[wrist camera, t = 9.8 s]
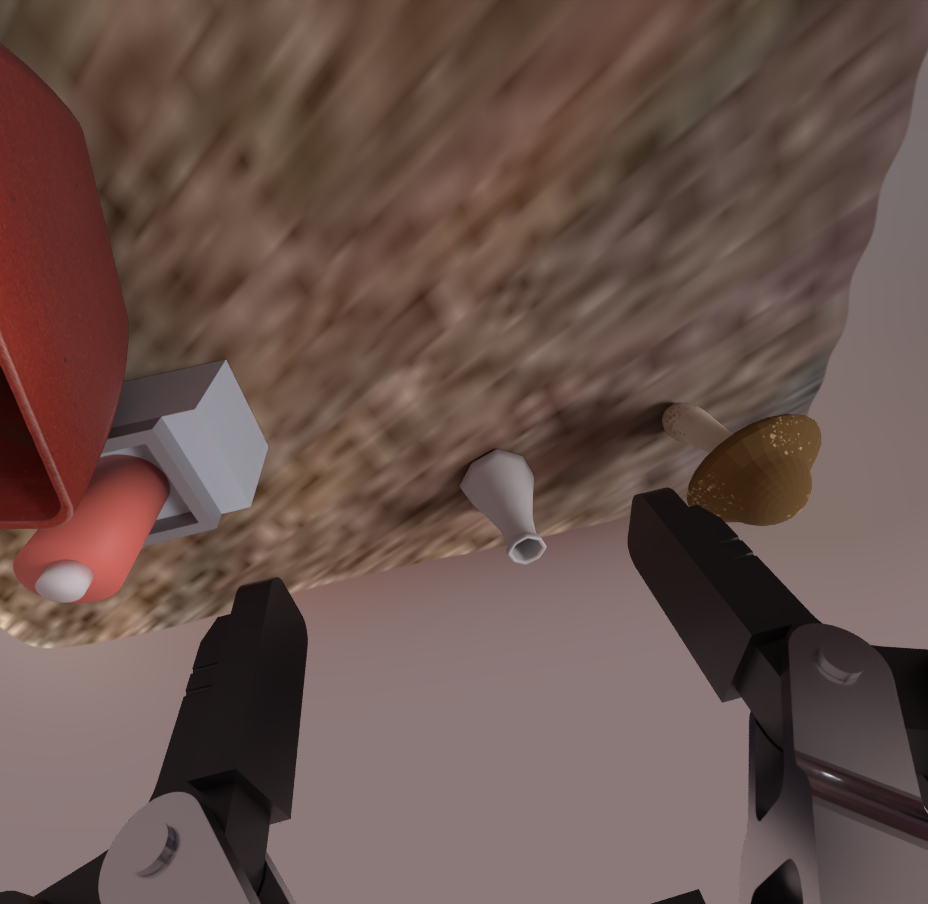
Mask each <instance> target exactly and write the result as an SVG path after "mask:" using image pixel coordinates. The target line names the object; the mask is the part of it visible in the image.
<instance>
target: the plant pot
mask: <svg viewBox="0 0 928 904" xmlns="http://www.w3.org/2000/svg"><path fill="white" fill-rule="evenodd" d="M128 336H129V321H128V316H127V312H126V308H125V304H124V300H123V296H122V291H121V287H120V283H119V279H118V275H117V270H116V266H115V262H114V258H113V254H112V250H111V246H110V242H109V238H108V233H107V229H106V225H105V221H104V217H103V213H102V208H101V204H100V200H99V196H98V192H97V188H96V184H95V180H94V176H93V172H92V168H91V164H90V160H89V155H88V151H87V146H86V142H85V138H84V133H83V131H82V128H81V126H80V124H79V122H78V121H77V119H76V118H75V117H74V115H73V114H72V112H71V111H70V110H69V109H68V107H67V106H66V105H65V104H64V103H63V102H62V100H61V99H60V98H59V97H58V96H57V95H56V94H55V92H54V91H53V90H52V89H51V88H50V87H49V86H48V85H47V84H46V83H45V82H44V81H43V80H42V79H41V78H40V77H39V76H38V75H37V74H36V73H35V72H34V71H33V70H32V69H30V68H29V67H28V66H27V65H26V64H25V63H24V62H23V61H21V60H20V59H19V58H18V57H17V56H16V55H14V54H13V53H12V52H11V51H10V50H9V49H7V48H6V47H5V46H4V45H2V44H1V43H0V529H45V528H55V527H59V526H62V525H64V524H66V523H67V522H68V521H70V519H71V518H72V516H73V514H74V513H75V511H76V509H77V507H78V505H79V503H80V501H81V499H82V497H83V495H84V493H85V491H86V489H87V487H88V485H89V482H90V480H91V478H92V475H93V473H94V471H95V469H96V466H97V464H98V461H99V459H100V456H101V454H102V451H103V449H104V446H105V444H106V441H107V438H108V436H109V433H110V430H111V427H112V424H113V420H114V417H115V414H116V410H117V406H118V403H119V399H120V395H121V390H122V385H123V380H124V374H125V367H126V361H127V351H128Z"/></svg>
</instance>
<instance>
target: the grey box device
mask: <svg viewBox="0 0 928 904" xmlns="http://www.w3.org/2000/svg"><path fill="white" fill-rule="evenodd" d="M267 450H268V445H267V443H266V441H265V439H264V437H263V435H262V432H261V430H260V428H259V426H258V424H257V422H256V420H255V418H254V416H253V414H252V412H251V410H250V408H249V406H248V404H247V402H246V400H245V398H244V395H243V393H242V391H241V389H240V387H239V385H238V383H237V381H236V379H235V377H234V375H233V373H232V371H231V369H230V367H229V365H228V363H227V361H226V360H222V361H217V362H212V363H208V364H203V365H199V366H194V367H189V368H185V369H180V370H176V371H171V372H166V373H162V374H157V375H153V376H148V377H143V378H139V379H134V380H130V381H125V382H123V385H122V390H121V395H120V399H119V403H118V406H117V410H116V414H115V417H114V420H113V424H112V427H111V430H110V433H109V436H108V438H107V441H106V444H105V446H104V449H103V451H102V454H101V456H100V458H102V457H105V456H109V455H117V454H120V455H131V456H135V457H139V458H142V459H144V460H147V461H149V462H151V463H152V464H154V465H155V466H157V467H158V468H159V469H160V470H161V471H162V472H163V473H164V474H165V475H166V477H167V479H168V481H169V484H170V493H169V496H168V498H167V500H166V502H165V504H164V506H163V508H162V510H161V512H160V514H159V516H158V517H157V519H156V521H155V523H154V525H153V527H152V529H151V531H150V533H149V535H148V537H147V539H146V540H145V542H144V544H143V546H147V545H151V544H155V543H159V542H163V541H167V540H171V539H175V538H180V537H184V536H188V535H192V534H196V533H200V532H204V531H208V530H212V529H216V528H217V526H218V523H219V521H220V518H221V515H222V514H224V513H228V512H232V511H236V510H240V509H244V508H248V507H251V504H252V501H253V497H254V494H255V490H256V487H257V484H258V480H259V477H260V473H261V470H262V467H263V463H264V460H265V456H266V453H267ZM143 546H142V547H143Z"/></svg>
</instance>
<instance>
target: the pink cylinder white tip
mask: <svg viewBox="0 0 928 904" xmlns="http://www.w3.org/2000/svg"><path fill="white" fill-rule="evenodd" d="M169 493H170V484H169V481H168V479H167V477H166V475H165V474H164V473H163V472H162V471H161V470H160V469H159V468H158V467H157V466H155V465H154V464H152V463H151V462H149V461H147V460H144V459H142V458H139V457H135V456H131V455H120V454H117V455H109V456H105V457H102V458H100V459H99V461H98V464H97V466H96V469H95V471H94V473H93V475H92V478H91V480H90V482H89V485H88V487H87V489H86V491H85V493H84V495H83V497H82V499H81V501H80V503H79V505H78V507H77V509H76V511H75V513H74V514H73V516H72V518H71V519H70V521H68V522H67V523H66V524H64V525H62V526H59V527H55V528H45V529H38V530H37V531H36V533H35V534H34V535H33V536H32V538H31V539H30V540H29V541H28V542H27V544H26V545H25V546H24V547H23V549H22V550H21V551H20V552H19V553H18V555H17V556H16V558H15V560H14V564H13V568H14V572H15V575H16V577H17V578H18V580H19V581H20V582H21V583H22V584H23V585H24V586H25V587H27V588H28V589H29V590H31V591H33V592H34V593H36V594H38V595H40V596H42V597H44V598H46V599H48V600H51V601H55V602H66V603H90V602H96V601H100V600H103V599H106V598H108V597H110V596H112V595H114V594H115V593H116V592H117V591H118V590H119V589H120V588H121V586H122V585H123V583H124V581H125V579H126V577H127V575H128V573H129V571H130V569H131V567H132V565H133V563H134V562H135V560H136V558H137V556H138V554H139V552H140V550H141V548H142V546H143V544H144V542H145V540H146V539H147V537H148V535H149V533H150V531H151V529H152V527H153V525H154V523H155V521H156V519H157V517H158V516H159V514H160V512H161V510H162V508H163V506H164V504H165V502H166V500H167V498H168V496H169Z"/></svg>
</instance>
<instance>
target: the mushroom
mask: <svg viewBox="0 0 928 904" xmlns="http://www.w3.org/2000/svg"><path fill="white" fill-rule="evenodd" d="M662 424H663V427H664V430H665V432H666V433H667V434H668V435H670V436H671V437H673V438H674V439H676V440H677V441H680V442H683V443H686V444H689V445H692V446H695V447H697V448H700V449H702V450H705V451H708V452H710V454H709V455H708V456H707V457H706V458H705V459H704V460H703V461H702V463H701V464H700V465H699V467H698V468H697V469H696V471H695V472H694V475H693V477H692V479H691V481H690V483H689V487H688V494H687V501H688V505H689V507H690V506H694V505H699V506H701V507H703V508H704V509H706V510H708V511H710V512H711V513H713V514H715V515H716V516H718V517H720V518H721V519H722V520H723V521H724V522H742V523H745V524H749V525H758V526H767V525H774V524H778V523H781V522H784V521H787V520H788V519H790V518H792V517H794V516H795V515H796V514H797V513H798V512H800V511H801V510H802V509H803V507H804V506H805V505H806V503H807V501H808V499H809V496H810V493H811V489H812V479H811V473H810V469H811V467H812V465H813V463H814V461H815V459H816V457H817V455H818V452H819V449H820V446H821V432H820V428H819V426H818V425H817V423H816V422H815V420H813V419H811V418H809V417H807V416H805V415H794V414H784V415H778V416H773V417H768V418H765V419H762V420H760V421H757V422H755V423H752V424H750V425H748V426H746V427H744V428H743V429H741V430H739V431H737V432H735V433H734V434H731V433H730V432H729V431H728V430H727V429H726V428H725V427H723V426H722V425H721V424H720V423H719V422H718V421H716V420H715V419H714V418H713V417H711V416H710V415H709V414H708V413H707V412H705V411H704V410H703V409H701V408H699V407H697V406H695V405H693V404H690V403H676V404H673V405H671V406H670V407H669V408H667V409H666V410H665V412H664V414H663V416H662Z"/></svg>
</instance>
